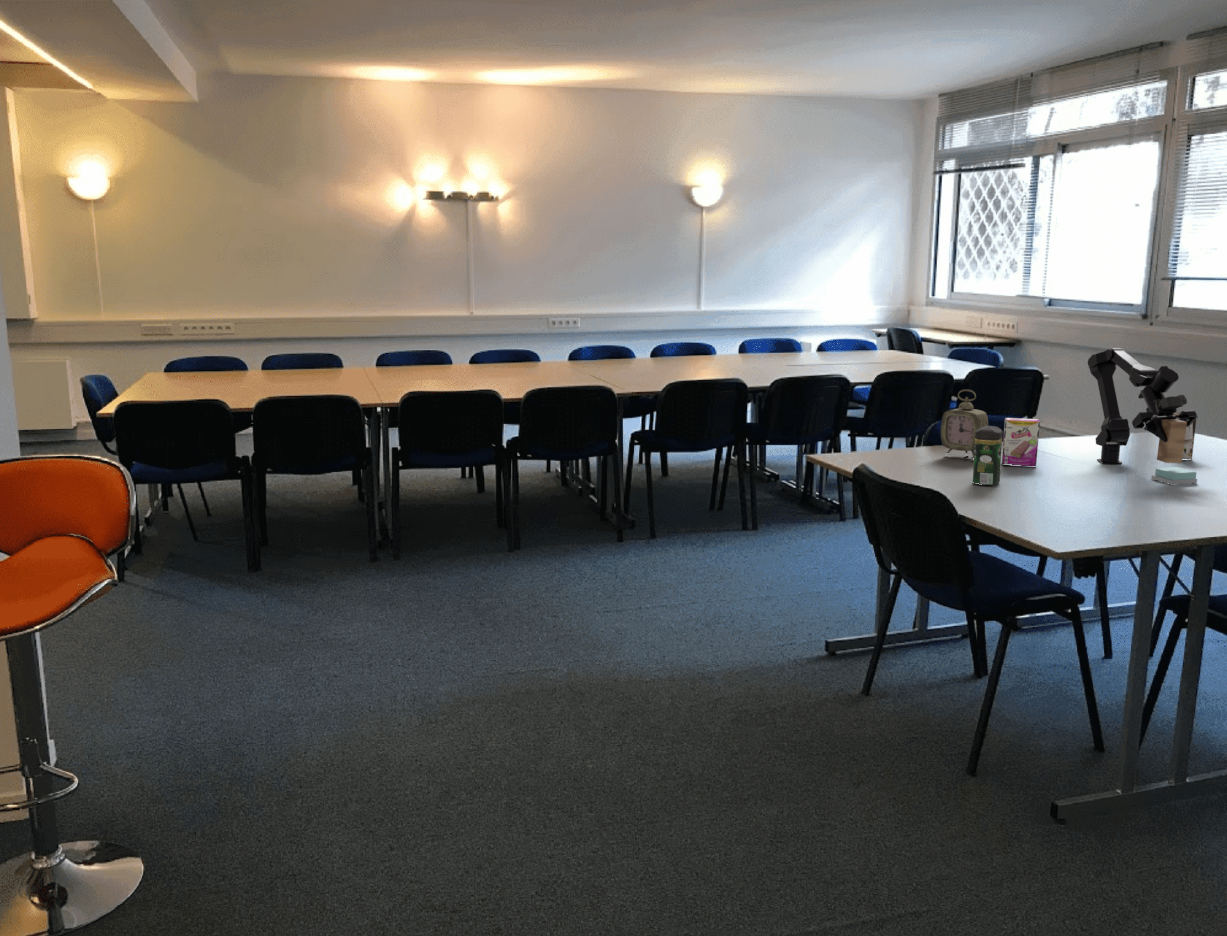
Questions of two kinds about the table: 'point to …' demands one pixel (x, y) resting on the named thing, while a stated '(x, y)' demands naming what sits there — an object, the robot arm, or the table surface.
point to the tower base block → (1173, 480)
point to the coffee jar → (987, 455)
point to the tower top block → (1175, 473)
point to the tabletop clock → (962, 426)
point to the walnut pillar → (1172, 441)
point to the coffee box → (1188, 439)
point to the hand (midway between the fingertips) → (1174, 441)
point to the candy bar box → (1020, 441)
